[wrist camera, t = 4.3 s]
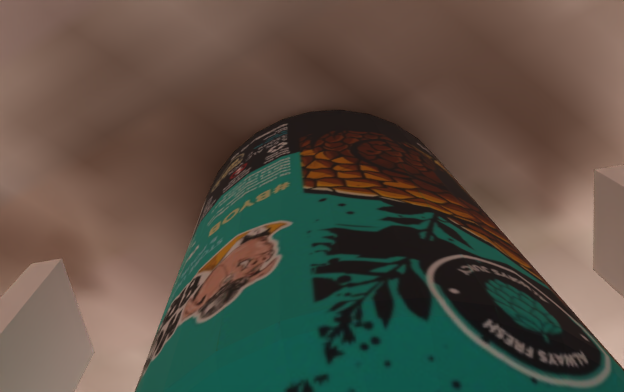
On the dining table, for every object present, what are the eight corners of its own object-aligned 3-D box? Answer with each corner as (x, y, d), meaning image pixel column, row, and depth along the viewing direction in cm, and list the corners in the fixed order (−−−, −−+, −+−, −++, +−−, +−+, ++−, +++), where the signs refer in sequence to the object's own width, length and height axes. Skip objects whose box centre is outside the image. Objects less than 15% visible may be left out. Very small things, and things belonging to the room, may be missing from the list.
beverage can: (493, 255, 17) (904, 786, 6) (295, 370, 18) (314, 1009, 7) (369, 51, 15) (643, 259, 4) (153, 195, 16) (-167, 705, 5)
